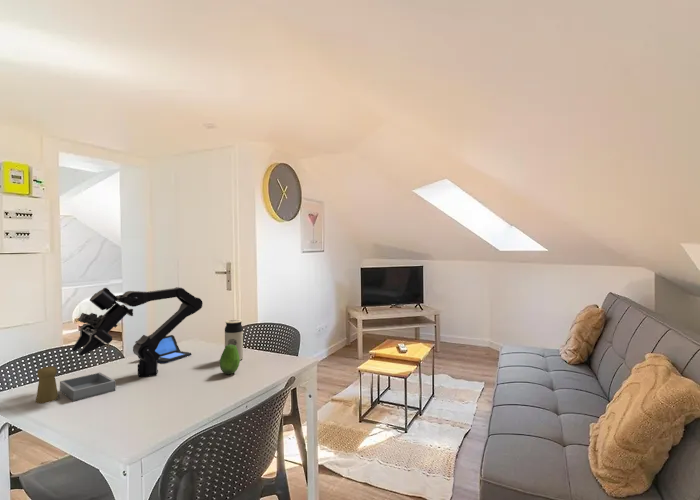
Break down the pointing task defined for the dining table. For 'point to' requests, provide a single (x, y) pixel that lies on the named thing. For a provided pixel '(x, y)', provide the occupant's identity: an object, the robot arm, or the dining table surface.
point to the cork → (46, 385)
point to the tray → (87, 386)
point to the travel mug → (234, 335)
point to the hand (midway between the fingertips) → (76, 352)
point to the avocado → (229, 359)
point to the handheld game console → (169, 350)
